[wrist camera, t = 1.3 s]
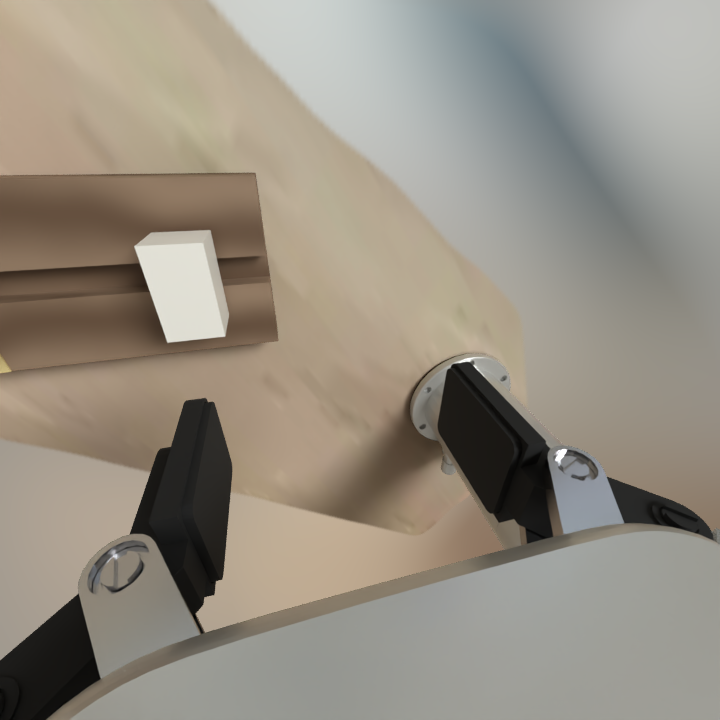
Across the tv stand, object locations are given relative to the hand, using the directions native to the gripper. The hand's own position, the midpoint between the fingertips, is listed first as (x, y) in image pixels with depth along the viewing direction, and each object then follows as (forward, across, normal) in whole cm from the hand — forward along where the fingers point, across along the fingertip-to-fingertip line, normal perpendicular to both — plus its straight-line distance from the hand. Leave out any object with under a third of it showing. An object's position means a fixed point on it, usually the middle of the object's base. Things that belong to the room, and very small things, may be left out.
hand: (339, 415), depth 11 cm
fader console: (+20, +14, 0) cm, 24 cm away
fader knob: (+18, +7, 0) cm, 19 cm away
